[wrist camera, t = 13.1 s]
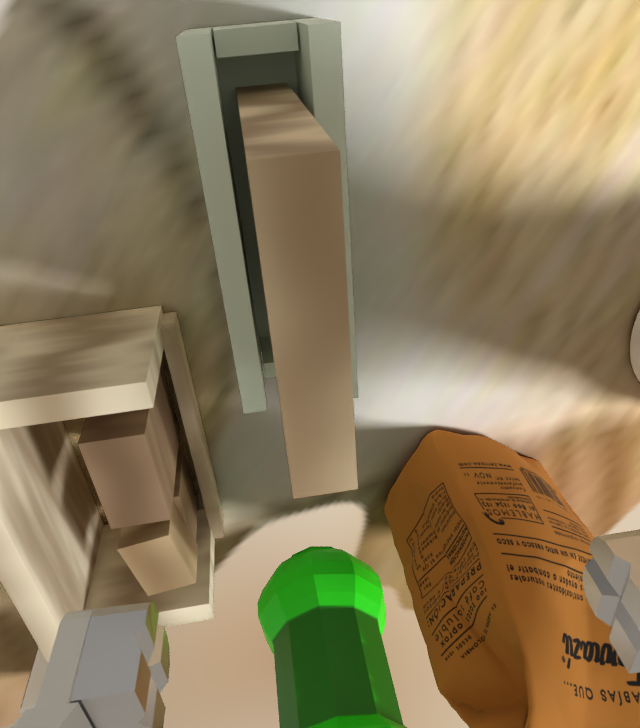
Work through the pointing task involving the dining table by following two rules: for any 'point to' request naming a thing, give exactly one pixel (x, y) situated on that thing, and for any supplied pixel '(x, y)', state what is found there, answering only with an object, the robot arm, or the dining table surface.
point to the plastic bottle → (328, 642)
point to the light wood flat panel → (303, 283)
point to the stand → (229, 170)
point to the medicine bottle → (34, 682)
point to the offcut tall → (134, 460)
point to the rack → (65, 476)
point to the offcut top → (160, 553)
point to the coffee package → (505, 590)
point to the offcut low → (185, 491)
